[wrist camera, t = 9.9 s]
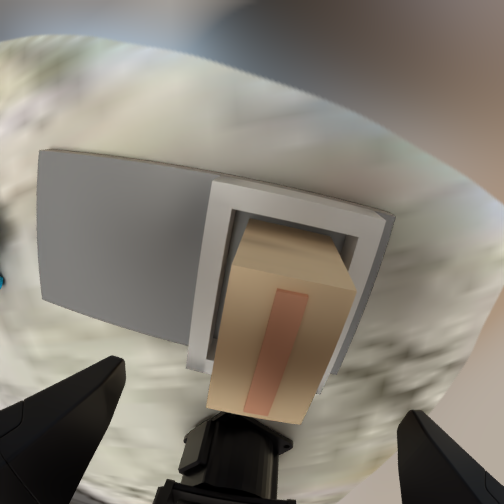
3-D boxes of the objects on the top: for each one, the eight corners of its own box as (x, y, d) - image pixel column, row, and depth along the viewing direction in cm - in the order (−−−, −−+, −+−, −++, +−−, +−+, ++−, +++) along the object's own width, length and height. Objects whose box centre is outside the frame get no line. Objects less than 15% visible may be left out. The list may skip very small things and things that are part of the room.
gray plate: (389, 212, 16) (410, 227, 13) (334, 364, 19) (340, 396, 16) (49, 149, 16) (17, 153, 13) (50, 293, 19) (25, 312, 16)
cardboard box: (296, 344, 18) (300, 427, 12) (227, 330, 18) (205, 410, 12) (330, 236, 15) (358, 294, 9) (249, 218, 15) (230, 266, 10)
